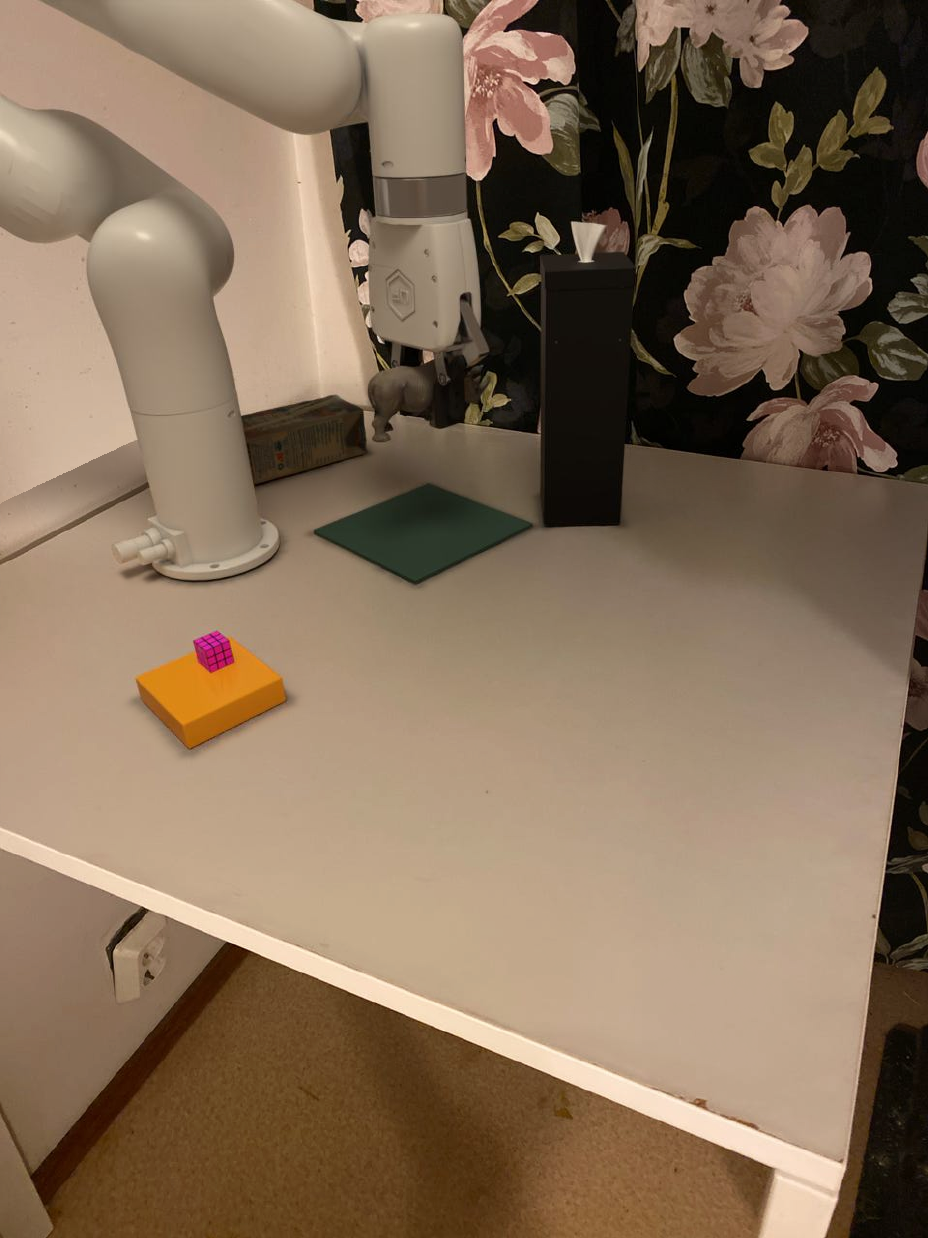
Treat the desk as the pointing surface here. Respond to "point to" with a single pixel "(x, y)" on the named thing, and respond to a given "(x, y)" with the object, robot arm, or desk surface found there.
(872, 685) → the desk surface
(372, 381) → the rhino figurine
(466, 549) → the mat
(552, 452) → the tissue box
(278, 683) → the orange block
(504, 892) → the desk surface
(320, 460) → the beverage carton
